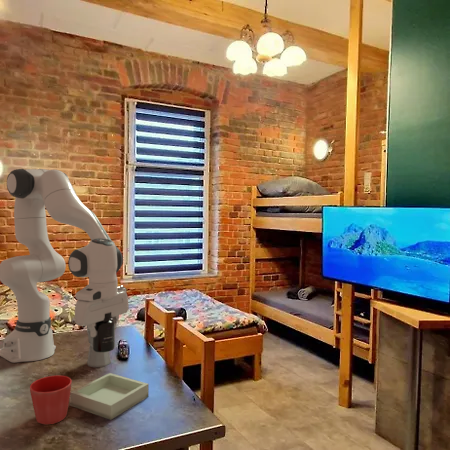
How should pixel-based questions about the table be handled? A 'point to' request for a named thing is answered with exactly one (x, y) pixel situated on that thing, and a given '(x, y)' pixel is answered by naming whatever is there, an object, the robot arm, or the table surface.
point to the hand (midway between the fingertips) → (103, 332)
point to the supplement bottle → (104, 335)
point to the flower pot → (51, 398)
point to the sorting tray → (109, 395)
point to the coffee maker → (96, 355)
